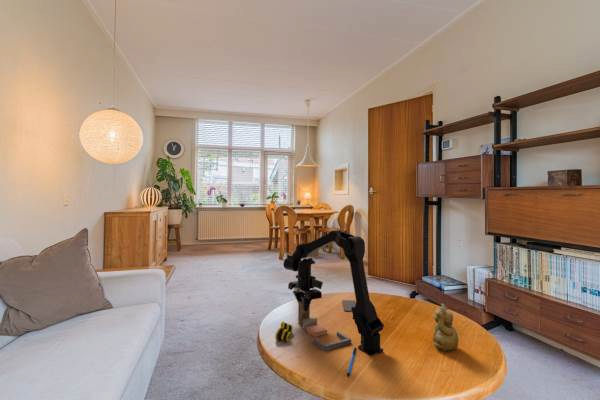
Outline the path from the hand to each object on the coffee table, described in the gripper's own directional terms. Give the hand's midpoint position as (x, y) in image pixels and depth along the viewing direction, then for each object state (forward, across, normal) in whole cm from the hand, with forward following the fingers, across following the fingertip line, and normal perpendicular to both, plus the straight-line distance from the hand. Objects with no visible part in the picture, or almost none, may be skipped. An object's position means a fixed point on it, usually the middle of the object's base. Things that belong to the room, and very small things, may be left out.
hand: (304, 309), depth 129 cm
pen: (+6, -34, +2) cm, 35 cm away
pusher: (+5, -2, 0) cm, 6 cm away
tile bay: (+6, -20, 0) cm, 21 cm away
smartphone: (+6, +7, -31) cm, 32 cm away
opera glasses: (+6, -8, +13) cm, 16 cm away
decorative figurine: (+6, -43, -34) cm, 55 cm away
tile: (+6, -10, 0) cm, 12 cm away
